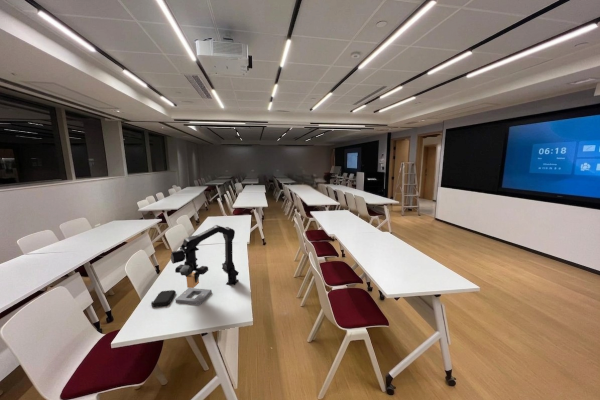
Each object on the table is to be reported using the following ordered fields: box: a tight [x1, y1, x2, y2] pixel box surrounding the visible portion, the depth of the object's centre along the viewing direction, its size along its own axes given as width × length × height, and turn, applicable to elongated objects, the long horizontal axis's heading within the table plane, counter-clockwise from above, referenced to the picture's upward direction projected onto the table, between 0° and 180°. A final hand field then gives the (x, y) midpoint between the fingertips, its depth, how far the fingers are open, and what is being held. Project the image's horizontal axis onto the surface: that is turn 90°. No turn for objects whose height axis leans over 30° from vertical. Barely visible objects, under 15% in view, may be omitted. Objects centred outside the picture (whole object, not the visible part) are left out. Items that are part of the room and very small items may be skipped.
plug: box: [185, 271, 200, 289], centre depth 145 cm, size 6×4×7 cm, turn 171°
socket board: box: [175, 287, 212, 306], centre depth 147 cm, size 13×16×2 cm
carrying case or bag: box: [150, 289, 176, 308], centre depth 144 cm, size 11×3×15 cm
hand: (193, 282), depth 145 cm, fingers closed on plug, 4 cm apart
